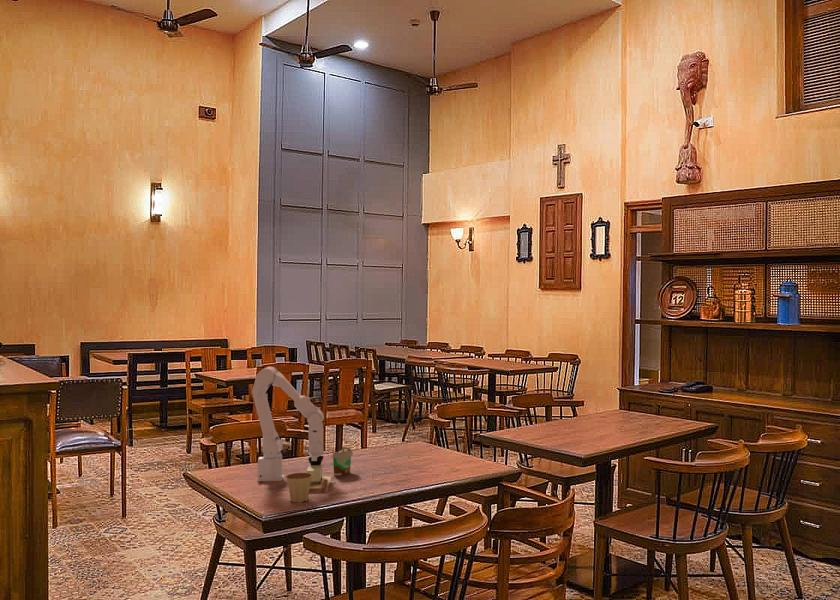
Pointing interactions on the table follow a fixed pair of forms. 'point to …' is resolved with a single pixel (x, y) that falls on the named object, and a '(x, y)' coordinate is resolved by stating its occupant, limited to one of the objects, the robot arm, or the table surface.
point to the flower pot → (299, 486)
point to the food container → (342, 461)
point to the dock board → (320, 485)
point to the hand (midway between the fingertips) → (316, 475)
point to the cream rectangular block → (315, 472)
